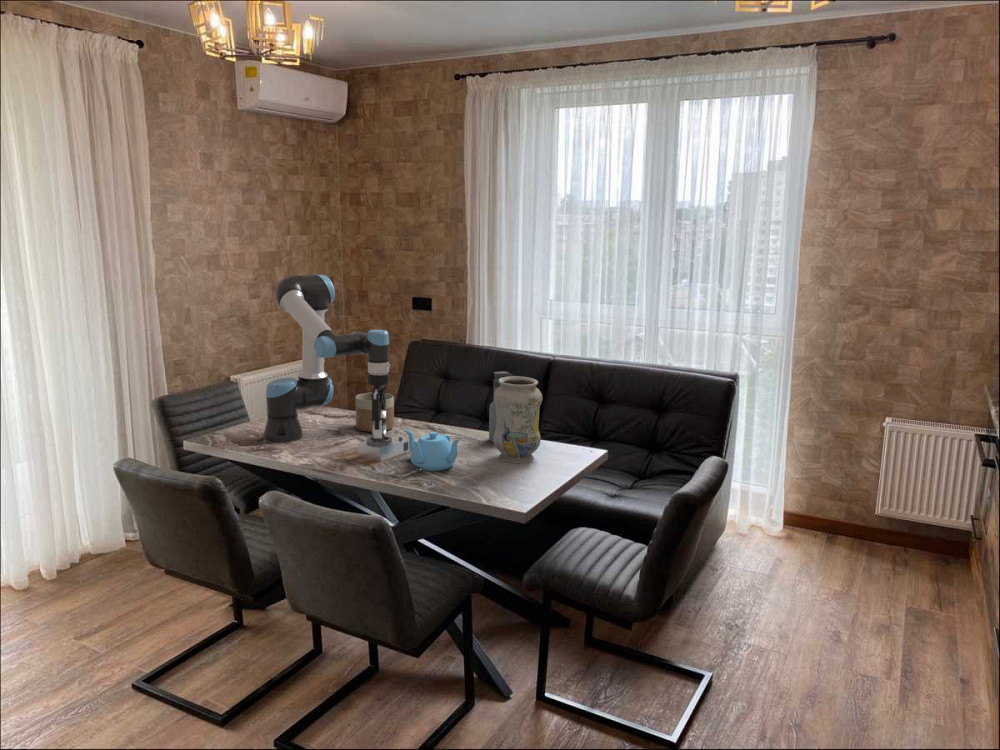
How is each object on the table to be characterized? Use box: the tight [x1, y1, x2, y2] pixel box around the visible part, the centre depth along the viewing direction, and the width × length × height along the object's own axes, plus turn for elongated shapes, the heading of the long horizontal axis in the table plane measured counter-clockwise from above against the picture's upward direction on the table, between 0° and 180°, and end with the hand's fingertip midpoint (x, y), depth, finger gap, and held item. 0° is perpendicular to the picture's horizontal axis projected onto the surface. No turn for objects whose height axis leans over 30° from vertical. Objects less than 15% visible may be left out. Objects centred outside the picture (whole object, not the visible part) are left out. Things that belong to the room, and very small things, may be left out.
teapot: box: [404, 428, 461, 472], centre depth 270 cm, size 17×19×12 cm
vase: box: [493, 375, 543, 464], centre depth 278 cm, size 18×18×30 cm
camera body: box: [357, 434, 409, 462], centre depth 278 cm, size 11×15×6 cm
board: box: [335, 448, 411, 467], centre depth 278 cm, size 19×20×1 cm
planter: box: [355, 392, 395, 433], centre depth 318 cm, size 16×16×14 cm
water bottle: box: [488, 371, 515, 443], centre depth 302 cm, size 10×10×28 cm
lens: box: [372, 409, 387, 439], centre depth 274 cm, size 5×5×10 cm
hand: (379, 435), depth 275 cm, fingers closed on lens, 5 cm apart
